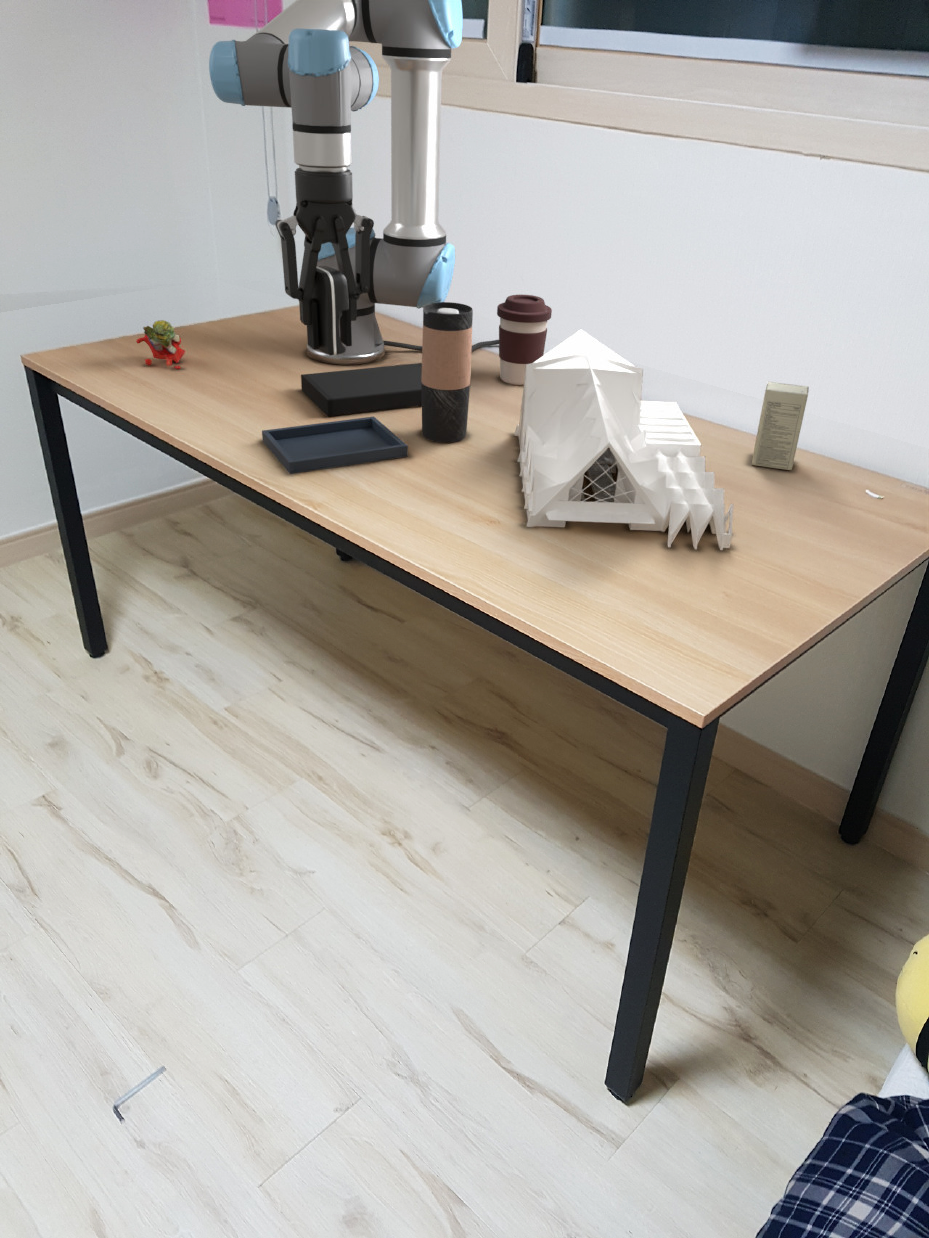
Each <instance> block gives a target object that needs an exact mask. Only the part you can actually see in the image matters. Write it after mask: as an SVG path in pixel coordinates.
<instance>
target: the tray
mask: <svg viewBox="0 0 929 1238" xmlns="http://www.w3.org/2000/svg"><path fill="white" fill-rule="evenodd" d="M261 436H262V437H261V439H262V443H263V444H264V445H265V446H266V447H267V449H268V450H269V451H270V452H271V453H272V455H273V456H274V457H275V458H276V460H277V461H278V462H279V463H280V465H282V467H283V468H284V469H285V470H286V471H287V473H288V474H289V475H292V474H299V473H300V474H301V473H305V472H313V471H314V472H315V471H320V470H327V469H334V468H339V467H347V466H354V465H361V464H366V463H374V462H381V461H387V460H394V459H400V458H407V457H409V445H408V444H406V442H404V441H403V440H402V439H401V438H400V437H399V436H397V435H396V434H395V433H394V432H393V431H391V429H389V428H388V427H387V426H385V424H383V422H381V421H380V420H379V419H378V418H376V417H375V416H366V417H359V418H358V417H357V418H350V419H343V420H334V421H327V422H319V423H311V424H304V425H295V426H287V427H279V428H271V429H262V430H261Z"/></svg>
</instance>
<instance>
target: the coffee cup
mask: <svg viewBox="0 0 929 1238" xmlns="http://www.w3.org/2000/svg"><path fill="white" fill-rule="evenodd" d="M496 308H497V309H496V315H497V316H498V318H499V325H498V340H499V344H498V357H499V378H500V379H501V380H502V381H503V382H505V383H507V384H510V385H514V386H524V380H525V372H526V364H531V363H533V362H535V361H536V360H538V359H539V358H541V357H542V356H543V355H545V354H544V352H545V347H546V342H547V341H546V340H547V333H548V328H547V326H548V321H550V319H552V311H553V309H552V308H551V306H548V305H546V302H545V300H544V298H543V297H541V296H537V295H533V294H512V295H508V296H507V297H506V299H505V300H504V302H501V303H499V304H498V305H497V307H496Z"/></svg>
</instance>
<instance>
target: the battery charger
mask: <svg viewBox="0 0 929 1238" xmlns="http://www.w3.org/2000/svg"><path fill="white" fill-rule="evenodd" d="M312 300H314V301H315V302H317V314H318V338H319V349H318V350H319V351H321V352H323V353H325V354H328V355H333V356H334V355H336V354H341V353H344V352H345V351H346V347H344V346H343V344H342V342H341V339H340V334H339V320H340V317H341V316H342V311H343V310H348V309H349V297H348V285H347V280H346V277H345V275H344V274H343V273H342V272H340V271H338V270H336V269H334V268H332V267H329V266H317V268H316V274H315V280H314V287H313V293H312Z"/></svg>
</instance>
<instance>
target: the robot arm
mask: <svg viewBox="0 0 929 1238" xmlns="http://www.w3.org/2000/svg"><path fill="white" fill-rule="evenodd" d="M463 17H464V15H463V3H462V0H295V1H294V2H292V3H290V5H289V6H287V7H286V8H285V9H284V10H283V11H281V12H280V13H279V14H278V15H276V16H275V17H274V18H272V19H271V20H270V21H269V22H268V23H266V24H265V25H264V26H263V27H261V28H260V29H259V30H257V31H256V32H255V33H254V34H253V35H252V36H250V37H249V38H247V39H245V40H236V39H231V40H219V41H217V42H215V43H214V45H213V46H212V47H211V51H210V53H209V58H208V59H209V60H208V72H209V77H210V78H209V79H210V83H211V86H212V90H213V92H214V94H215V95H216V97H217V98H218V100H220V101H222V102H223V103H225V104H232V105H233V104H234V105H240V106H242V107H246V106H251V107H253V106H254V107H273V108H274V107H275V108H290V109H291V117H292V118H291V123H292V124H291V125H292V127H291V129H292V139H293V140H292V141H293V144H292V145H293V162H294V163H295V164H296V165H297V166H298V167H297V168H296V169H295V171H294V185H295V186H294V187H295V202H296V204H295V208H294V210H293V213H292V215H291V216H289V217H287V218H285V219H283V220H282V219H279V218H278V219H277V220H276V221H275V224H274V225H275V228H276V230H277V233H278V235H279V238H280V245H281V257H282V258H281V259H282V268H283V269H282V270H283V282H284V283H283V284H284V292H285V294H286V295H287V296H289V297H290V298H292V299H293V300H298V305H299V320H300V322H301V324H302V325H304V326H306V336H307V337H306V338H307V340H306V341H307V342H306V350H307V356H309V358H311V359H313V360H315V361H317V362H322V363H326V364H331V365H332V364H333V365H363V364H368V363H373V362H376V361H379V360H381V359H382V358H383V357H384V356H385V346H387V347H392V348H393V347H394V348H400V349H407V350H412V351H417V352H422V346H421V345H417V344H409V343H404V342H399V341H397V342H396V341H389V340H384V339H383V336H382V332H381V329H380V326H379V323H378V319H377V316H376V304H380V305H390V306H401V307H410V308H416V309H421V308H422V309H423V307H424V306H425V305H427V304H430V303H437V302H446V299H447V297H448V294H449V292H450V288H451V285H452V280H453V276H454V271H455V263H456V248H455V247H456V246H455V245H453V244H452V243H451V242H447V230H445V229H444V227H443V226H442V225H441V224H440V221H439V206H440V203H439V201H440V167H441V166H440V165H441V163H440V162H441V160H440V159H441V125H442V124H441V121H442V120H441V118H442V84H443V83H442V79H443V75H442V74H443V71H444V68H446V67H447V65H448V64H450V62H451V61H452V49H453V50H454V49H457V48H459V47H460V45H461V43H462V39H463V28H464V18H463ZM350 42H354V43H355V42H357V43H359V42H360V43H369V44H380V45H381V57H382V59H383V60H384V61H385V63H386V64H387V65H388V66H389V69H390V101H391V102H390V118H391V119H390V127H391V128H390V154H391V155H390V158H391V159H390V160H391V161H390V162H391V163H390V166H391V169H390V175H391V177H390V181H391V189H390V190H391V192H390V193H391V197H390V199H391V203H390V204H391V208H390V209H391V210H390V211H391V213H390V214H391V215H390V216H391V217H390V218H391V220H390V222H389V223H388V224H387V225H386V226H385V227H384V229H383V231H382V238H380V237H376V233H375V229H374V225H375V221H374V220H373V219H372V218H370V217H367V216H366V215H360V214H358V213H357V212H356V210H355V207H354V205H353V200H354V199H353V197H354V195H353V172H352V171H351V170H350V169H348V167H351V166H352V164H353V152H352V151H353V150H352V149H353V148H352V115H351V114H352V112H358V111H359V110H362V109H363V108H365V107H367V105H369V104H370V103H371V102H372V101H373V100H374V98H375V97H376V95H377V93H378V90H379V83H380V76H379V71H378V67H377V65H376V62H375V61H374V59H373V58H372V57H371V56H370V54H369V53H367V52H366V51H365V50H364V49H361V48H359V47H357V46H354V45H350ZM352 225H353V227H352ZM297 227H299V228H300V229H301V231H302V232H303V234H304V241H303V247H304V249H303V257H302V261H301V268H300V269H301V270H300V275H298V274H299V273H298V263H297V248H296V247H297V245H296V240H295V235H296V234H297ZM317 266H329V267H332V268H334V269H336V270H338V271H340V272H342V273H343V274H344V275H345V277H346V280H347V285H348V297H349V309H348V310H343V311H342V316H341V317H340V320H339V334H340V339H341V342H342V344H343V346H344V347H346V351H345V352H344V353H341V354H336V355H334V356H333V355H328V354H325V353H323V352H321V351H319V350H318V349H319V338H318V314H317V302H315V301H314V300H312V293H313V287H314V280H315V274H316V268H317ZM298 277H299V278H298ZM497 345H499V339H494V340H486V341H480V342H479V341H478V342H476V343H474V344H472V347H471V353H472V352H474V351H476V350H477V349H479V348H482V347H488V346H497Z"/></svg>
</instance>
